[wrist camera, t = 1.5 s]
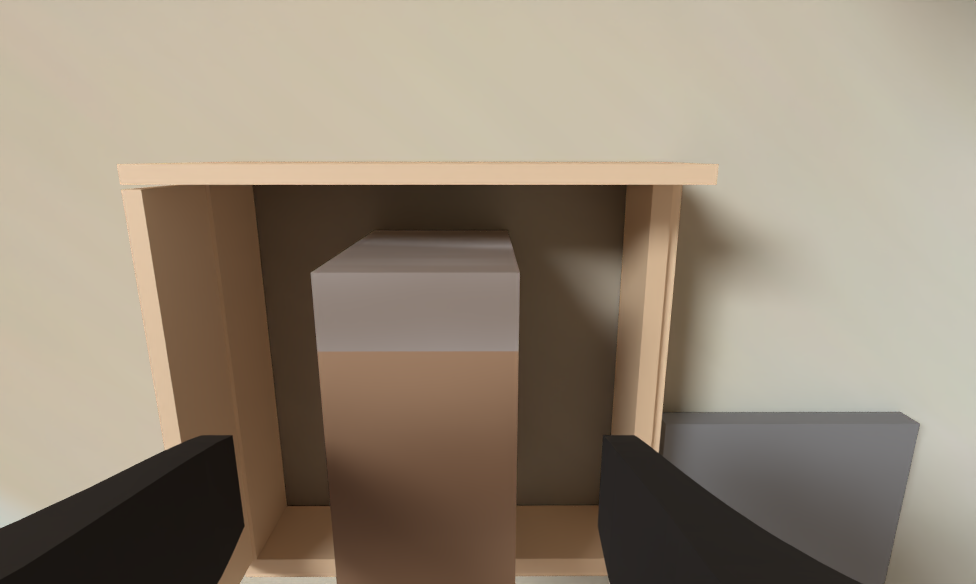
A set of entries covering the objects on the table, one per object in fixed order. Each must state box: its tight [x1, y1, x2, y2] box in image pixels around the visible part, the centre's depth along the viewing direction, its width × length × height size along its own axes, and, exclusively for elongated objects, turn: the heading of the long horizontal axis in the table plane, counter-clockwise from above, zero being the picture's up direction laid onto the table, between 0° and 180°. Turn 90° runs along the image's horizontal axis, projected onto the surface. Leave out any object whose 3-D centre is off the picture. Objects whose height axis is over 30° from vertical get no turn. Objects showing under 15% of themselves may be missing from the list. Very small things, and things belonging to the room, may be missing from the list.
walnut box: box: [311, 230, 520, 584], centre depth 14 cm, size 8×4×6 cm, turn 0°
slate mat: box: [659, 412, 920, 584], centre depth 19 cm, size 12×8×1 cm, turn 0°
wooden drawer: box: [117, 162, 719, 584], centre depth 15 cm, size 12×12×5 cm
